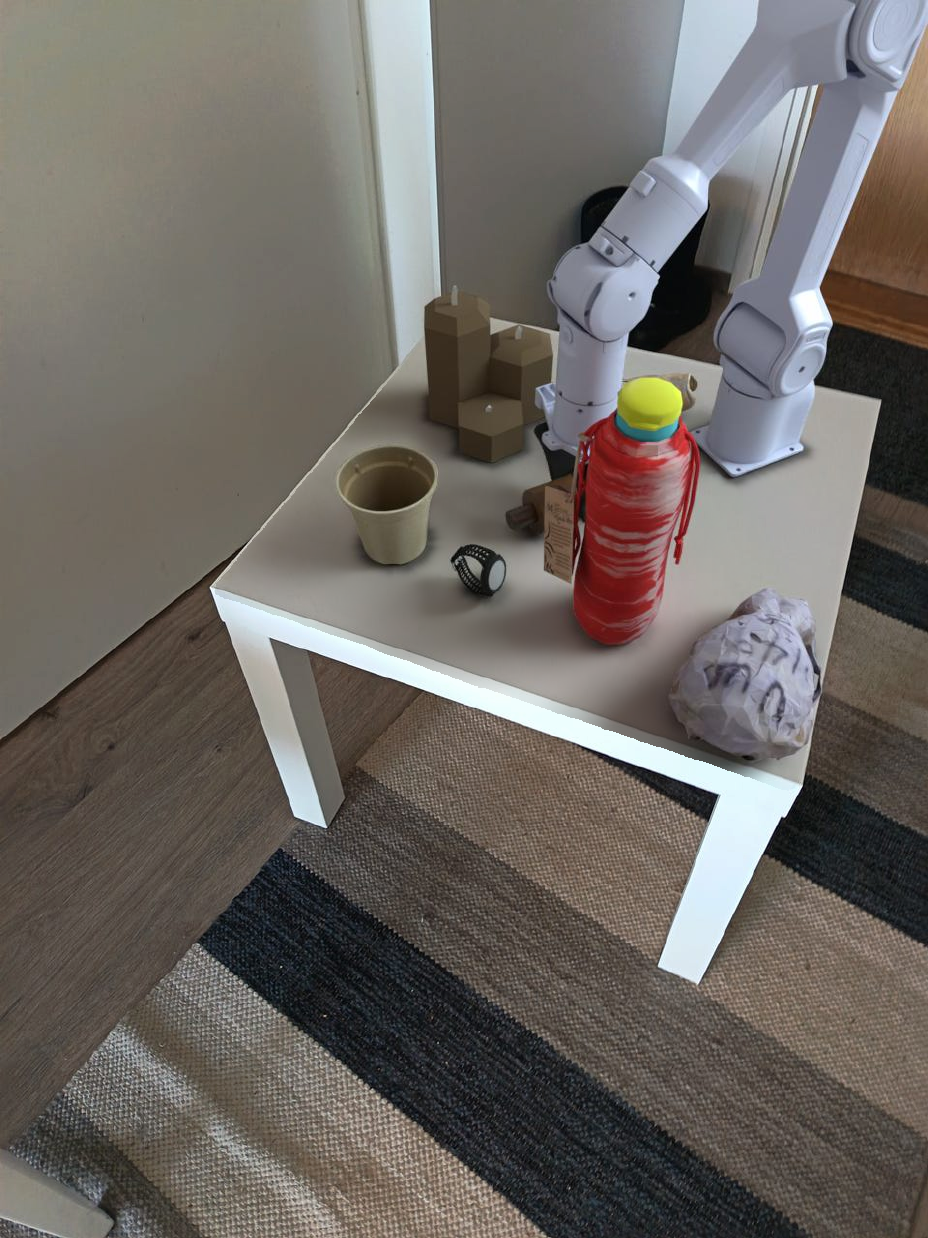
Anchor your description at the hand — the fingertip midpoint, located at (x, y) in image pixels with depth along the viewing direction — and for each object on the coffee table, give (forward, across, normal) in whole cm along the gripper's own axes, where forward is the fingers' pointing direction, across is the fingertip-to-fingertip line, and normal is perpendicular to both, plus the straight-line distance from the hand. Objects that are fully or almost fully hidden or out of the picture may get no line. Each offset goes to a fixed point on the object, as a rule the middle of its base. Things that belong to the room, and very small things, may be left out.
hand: (576, 500), depth 86 cm
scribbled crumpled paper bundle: (+2, +26, +1) cm, 27 cm away
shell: (+2, -10, +17) cm, 20 cm away
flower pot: (+2, -5, -18) cm, 19 cm away
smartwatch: (+2, +4, -13) cm, 14 cm away
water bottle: (+2, +13, -6) cm, 14 cm away
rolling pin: (-1, 0, 0) cm, 1 cm away
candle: (+2, -18, -1) cm, 19 cm away
